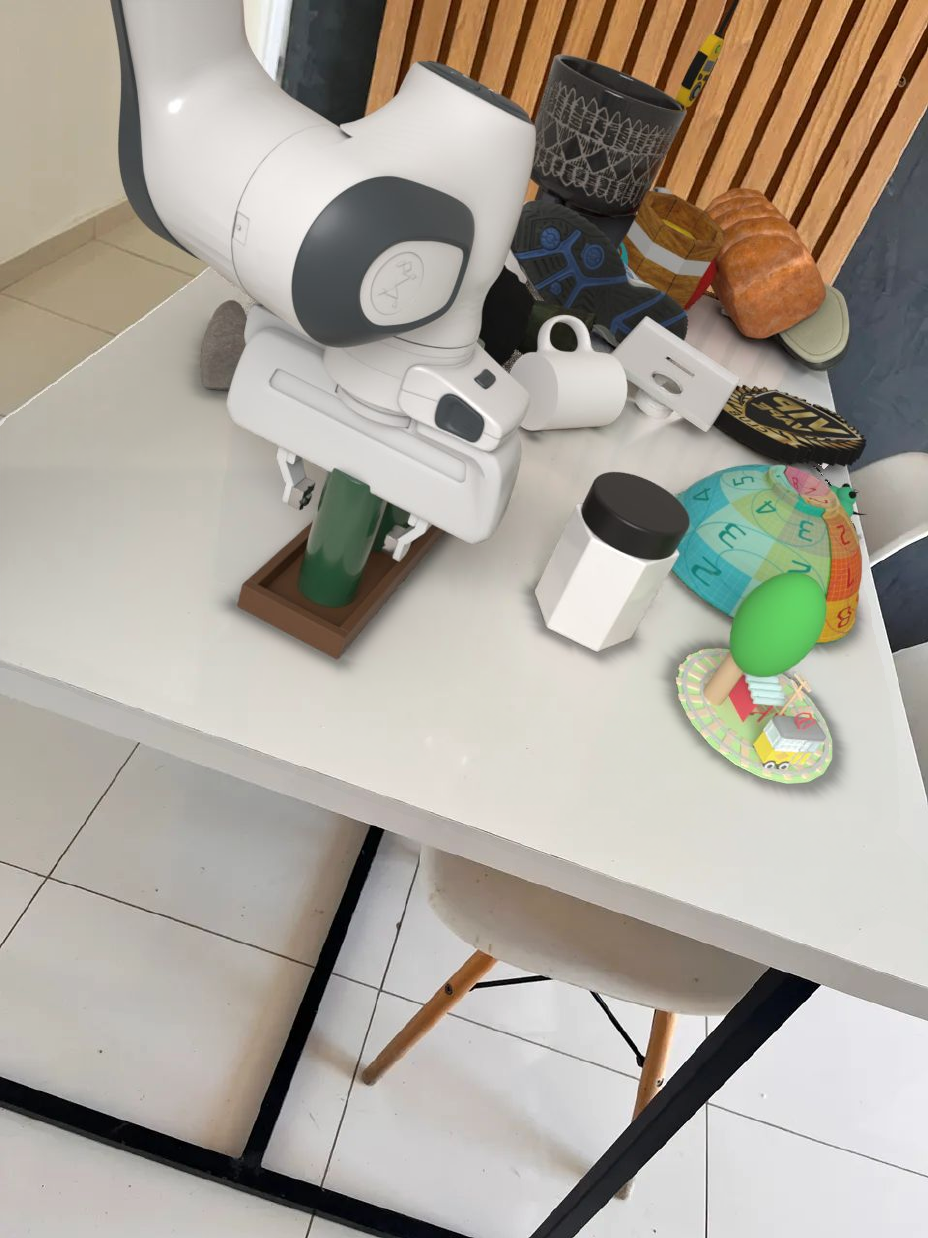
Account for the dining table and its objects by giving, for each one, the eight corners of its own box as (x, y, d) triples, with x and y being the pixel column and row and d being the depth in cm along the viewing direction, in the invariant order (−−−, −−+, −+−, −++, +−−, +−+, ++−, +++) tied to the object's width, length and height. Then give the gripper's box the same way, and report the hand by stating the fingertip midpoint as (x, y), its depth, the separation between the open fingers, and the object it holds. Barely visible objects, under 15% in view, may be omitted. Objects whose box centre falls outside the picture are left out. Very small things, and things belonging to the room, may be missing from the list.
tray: (337, 660, 68) (344, 638, 66) (236, 606, 68) (241, 584, 67) (478, 491, 91) (485, 473, 90) (402, 452, 92) (408, 434, 91)
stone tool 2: (553, 299, 106) (372, 161, 106) (548, 299, 102) (361, 157, 103) (489, 392, 111) (316, 259, 111) (482, 395, 107) (304, 258, 107)
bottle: (285, 588, 71) (333, 411, 62) (314, 559, 74) (364, 389, 65) (339, 616, 70) (396, 443, 61) (366, 586, 74) (423, 419, 65)
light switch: (584, 395, 117) (684, 462, 116) (608, 356, 113) (711, 426, 112) (623, 351, 127) (714, 413, 126) (646, 315, 123) (740, 379, 122)
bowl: (802, 568, 78) (741, 655, 84) (959, 558, 90) (896, 635, 96) (652, 416, 92) (609, 501, 98) (806, 425, 104) (759, 500, 110)
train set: (954, 687, 65) (764, 613, 64) (843, 809, 73) (674, 745, 73) (911, 567, 77) (750, 503, 76) (820, 683, 85) (674, 627, 84)
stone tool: (208, 288, 98) (258, 290, 99) (211, 320, 101) (260, 322, 101) (194, 362, 86) (251, 363, 87) (198, 397, 88) (253, 398, 89)
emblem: (794, 474, 113) (887, 460, 124) (801, 458, 112) (895, 445, 123) (679, 403, 124) (774, 396, 136) (685, 388, 123) (780, 382, 135)
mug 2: (680, 350, 140) (738, 259, 129) (598, 324, 136) (650, 229, 125) (655, 276, 152) (705, 188, 142) (578, 250, 148) (624, 158, 138)
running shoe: (501, 263, 113) (461, 245, 122) (650, 395, 131) (606, 371, 140) (559, 179, 111) (514, 167, 120) (703, 325, 129) (655, 305, 138)
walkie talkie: (681, 108, 131) (745, -12, 122) (670, 101, 132) (732, -19, 123) (694, 109, 135) (756, -7, 126) (683, 102, 135) (744, -14, 126)
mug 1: (553, 307, 97) (624, 310, 104) (502, 319, 104) (571, 320, 110) (560, 428, 99) (628, 423, 106) (509, 432, 106) (576, 427, 112)
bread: (783, 242, 163) (753, 158, 154) (837, 305, 143) (806, 212, 134) (706, 285, 167) (672, 205, 158) (748, 351, 147) (712, 264, 138)
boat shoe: (866, 318, 136) (884, 374, 142) (805, 247, 159) (822, 297, 164) (794, 354, 140) (814, 407, 145) (744, 279, 162) (763, 328, 168)
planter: (469, 229, 148) (530, 41, 132) (571, 247, 158) (640, 75, 142) (525, 288, 136) (600, 90, 120) (632, 305, 146) (714, 123, 130)
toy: (880, 511, 109) (817, 482, 104) (851, 543, 111) (788, 516, 107) (832, 452, 118) (772, 423, 114) (805, 483, 121) (746, 456, 116)
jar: (638, 614, 84) (702, 504, 77) (620, 666, 78) (688, 551, 70) (545, 569, 85) (600, 455, 78) (520, 617, 78) (578, 498, 71)
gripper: (227, 295, 59) (194, 480, 67) (525, 443, 57) (452, 614, 65) (279, 272, 64) (242, 447, 72) (554, 408, 62) (483, 571, 70)
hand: (344, 528), depth 69 cm, fingers open, 7 cm apart
